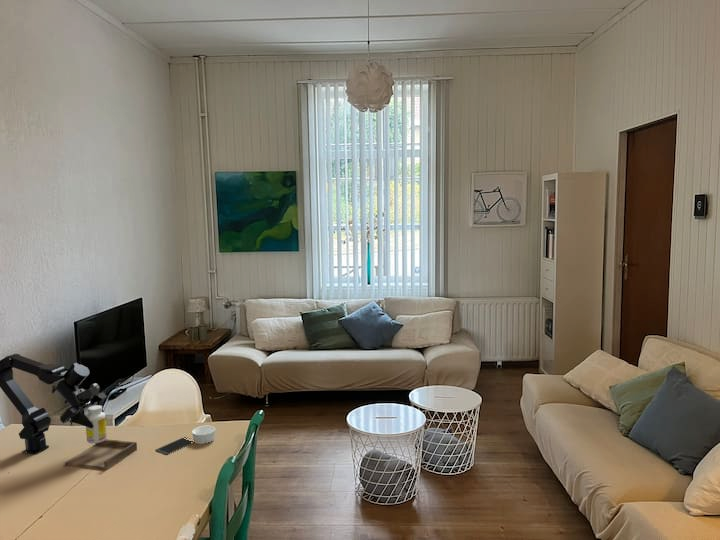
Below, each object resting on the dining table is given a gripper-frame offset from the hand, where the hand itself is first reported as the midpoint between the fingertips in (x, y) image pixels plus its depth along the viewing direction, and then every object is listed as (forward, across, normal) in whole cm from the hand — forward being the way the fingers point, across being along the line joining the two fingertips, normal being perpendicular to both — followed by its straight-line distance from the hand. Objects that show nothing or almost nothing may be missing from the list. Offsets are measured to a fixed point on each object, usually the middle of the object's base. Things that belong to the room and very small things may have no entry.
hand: (99, 423), depth 189 cm
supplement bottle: (+4, 0, +6) cm, 7 cm away
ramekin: (+32, +18, -15) cm, 39 cm away
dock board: (+10, -2, +7) cm, 12 cm away
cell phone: (+26, +11, -8) cm, 30 cm away
